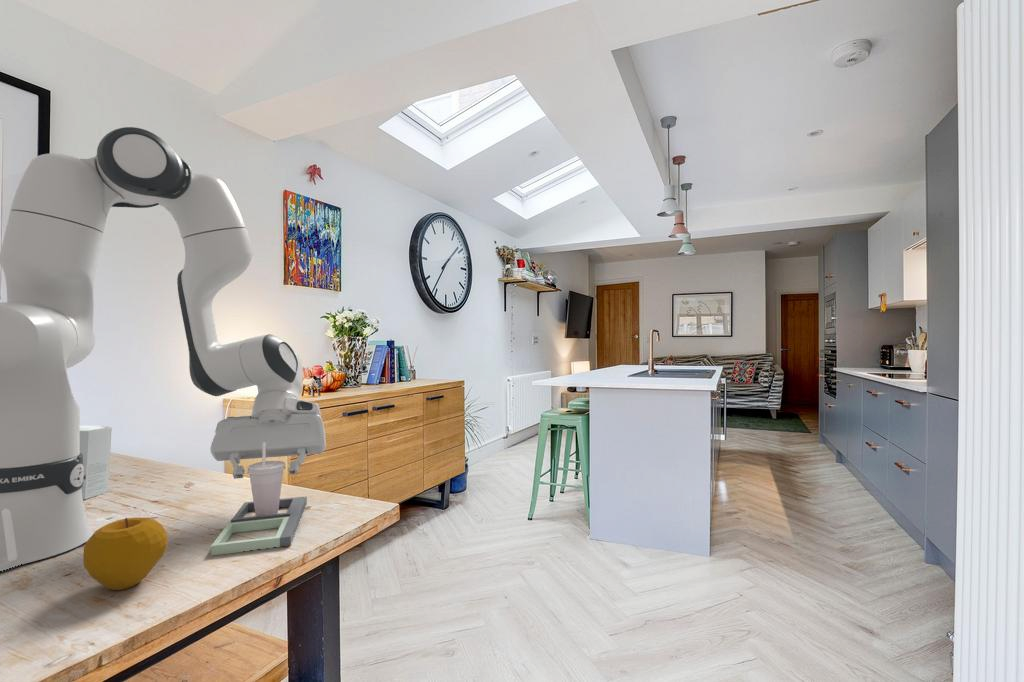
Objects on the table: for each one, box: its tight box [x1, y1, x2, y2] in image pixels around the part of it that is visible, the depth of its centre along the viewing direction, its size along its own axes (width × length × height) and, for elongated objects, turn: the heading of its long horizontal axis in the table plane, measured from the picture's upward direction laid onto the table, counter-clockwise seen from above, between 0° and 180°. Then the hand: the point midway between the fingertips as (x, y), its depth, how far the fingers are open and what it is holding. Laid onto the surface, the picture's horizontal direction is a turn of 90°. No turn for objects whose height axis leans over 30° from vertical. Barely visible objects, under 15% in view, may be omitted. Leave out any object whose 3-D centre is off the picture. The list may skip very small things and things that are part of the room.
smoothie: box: [247, 442, 286, 516], centre depth 88 cm, size 6×6×14 cm
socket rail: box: [210, 496, 308, 557], centre depth 83 cm, size 11×21×2 cm, turn 17°
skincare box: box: [80, 425, 113, 501], centre depth 101 cm, size 8×6×15 cm
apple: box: [82, 517, 169, 591], centre depth 63 cm, size 9×9×9 cm
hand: (266, 474), depth 88 cm, fingers open, 8 cm apart
